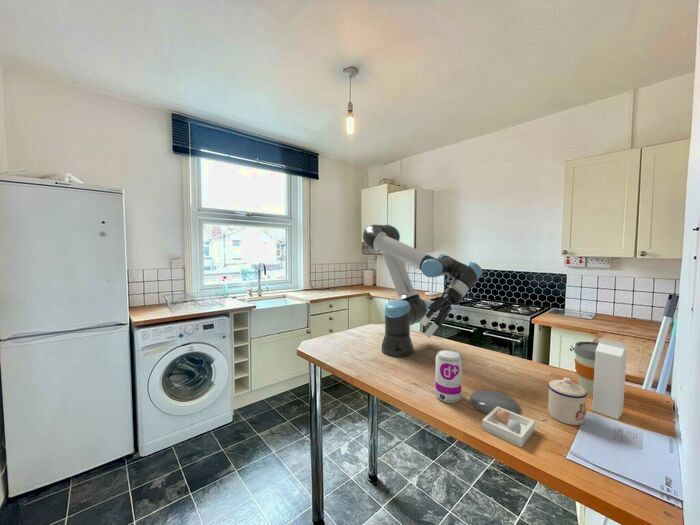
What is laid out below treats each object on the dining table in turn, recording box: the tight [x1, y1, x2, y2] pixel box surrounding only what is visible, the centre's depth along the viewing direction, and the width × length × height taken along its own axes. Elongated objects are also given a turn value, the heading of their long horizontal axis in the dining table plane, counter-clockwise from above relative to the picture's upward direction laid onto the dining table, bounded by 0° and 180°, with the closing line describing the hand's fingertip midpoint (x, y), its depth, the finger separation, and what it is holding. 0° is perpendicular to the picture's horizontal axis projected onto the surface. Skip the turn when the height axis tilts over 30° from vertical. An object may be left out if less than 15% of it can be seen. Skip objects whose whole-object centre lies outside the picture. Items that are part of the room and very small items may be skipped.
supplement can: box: [434, 349, 463, 404], centre depth 98 cm, size 8×8×15 cm
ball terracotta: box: [497, 410, 509, 422], centre depth 83 cm, size 3×3×3 cm
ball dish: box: [481, 406, 536, 448], centre depth 81 cm, size 10×10×3 cm
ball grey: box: [508, 420, 521, 434], centre depth 78 cm, size 3×3×3 cm
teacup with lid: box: [547, 377, 588, 426], centre depth 87 cm, size 12×9×12 cm
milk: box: [592, 338, 628, 420], centre depth 88 cm, size 6×6×22 cm
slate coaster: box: [469, 389, 520, 415], centre depth 94 cm, size 14×14×1 cm
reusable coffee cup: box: [573, 341, 599, 395], centre depth 101 cm, size 12×13×15 cm
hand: (424, 330), depth 121 cm, fingers open, 13 cm apart
